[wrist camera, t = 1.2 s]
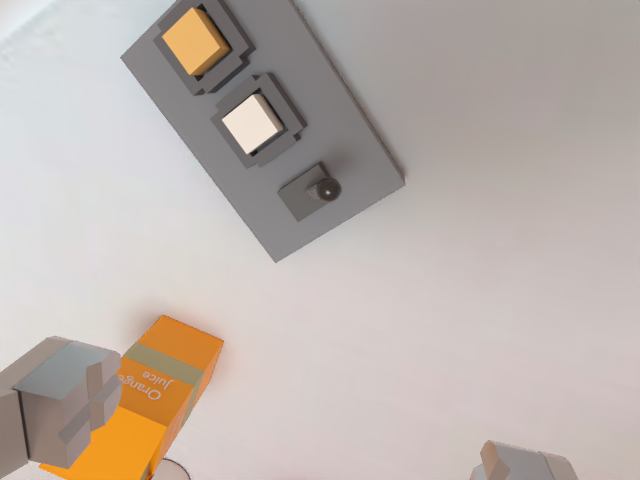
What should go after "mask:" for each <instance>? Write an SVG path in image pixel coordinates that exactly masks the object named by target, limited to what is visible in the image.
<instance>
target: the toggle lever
mask: <svg viewBox="0 0 640 480" xmlns="http://www.w3.org/2000/svg"><path fill="white" fill-rule="evenodd" d="M305 193H306V194H307V196H308V197H309V199H310V200H317V199H321V200H322V201H324V202H334V201H335V200H337V199H338V198H339V196H340V194H341V186H340V183H339V182H338V181H337V180H336V179H334V178H331V177H327V178H324V179H322V180H321V181H320V182H319V183H318V184H315V185H312V186H311V187H310V188H308V189H307V190H305Z"/></svg>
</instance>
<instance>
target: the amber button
mask: <svg viewBox="0 0 640 480" xmlns="http://www.w3.org/2000/svg"><path fill="white" fill-rule="evenodd" d="M162 38H163V39H164V40H165V42H166V43H167V45H168V46H169V47H170V49H171V50H172V51H173V53H174V54H175V56H176V57H177V58H178V60H179V61H180V63H181V64H182V65H183V67H184V68H185V69H186V71H187V72H188V74H189V75H203V74H204V73H205V72H206V71H207V70H208V69H210V68H211V67H212V66H213V65H214V64H215V63H216V62H217V61H219V60H220V59H221V58H222V57H223V56H224V55H225V54H227V53H228V52H229V51H230V50H231V49H230V47H229V46H228V44H227V43H226V41H225V40H224V39H223V37H222V36H221V34H220V33H219V31H218V30H217V28H216V27H215V25H214V24H213V23H212V21H211V20H210V18H209V17H208V15H207V14H206V12H205V11H202V10H199V9H196V8H193V7H192V8H191V9H190V10H189V11H188V12H187V13H186V14H185V15H184V16H183V17H182V18H180V19H179V20H178V21H177V22H176V23H175V24H174V25H173V26H172V27H171V28H170V29H169V30H168V31H167V32H166V33H165V34H164V35H163V36H162Z"/></svg>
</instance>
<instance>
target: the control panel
mask: <svg viewBox="0 0 640 480" xmlns="http://www.w3.org/2000/svg"><path fill="white" fill-rule="evenodd" d="M192 7H193V8H196V9H199V10H202V11H205V12H206V14H207V15H208V17H209V18H210V20H211V21H212V23H213V24H214V25H215V27H216V28H217V30H218V31H219V33H220V34H221V36H222V37H223V39H224V40H225V41H226V43H227V44H228V46H229V47H230V49H231V50H230V51H229V52H228V53H227V54H225V55H224V56H223V57H222V58H221V59H220V60H219V61H217V62H216V63H215V64H214V65H213V66H212V67H211V68H210V69H208V70H207V71H206V72H205V73H204V74H203V75H189V74H188V72H187V71H186V69H185V68H184V67H183V65H182V64H181V63H180V61H179V60H178V58H177V57H176V56H175V54H174V53H173V51H172V50H171V49H170V47H169V46H168V45H167V43H166V42H165V40H164V39H163V38H162V36H163V35H164V34H165V33H166V32H167V31H168V30H169V29H170V28H171V27H172V26H173V25H174V24H175V23H176V22H177V21H178V20H179V19H180V18H182V17H183V16H184V15H185V14H186V13H187V12H188V11H189V10H190V9H191V8H192ZM120 58H121V59H122V61H123V62H124V63H125V65H126V66H127V67H128V69H129V70H130V71H131V73H132V74H133V75H134V77H135V78H136V79H137V81H138V82H139V83H140V85H141V86H142V87H143V88H144V90H145V91H146V92H147V94H148V95H149V96H150V98H151V99H152V100H153V102H154V103H155V104H156V106H157V107H158V108H159V110H160V111H161V112H162V114H163V115H164V116H165V118H166V119H167V120H168V122H169V123H170V124H171V126H172V127H173V128H174V130H175V131H176V132H177V133H178V135H179V136H180V137H181V139H182V140H183V141H184V143H185V144H186V145H187V147H188V148H189V149H190V151H191V152H192V153H193V155H194V156H195V157H196V159H197V160H198V161H199V163H200V164H201V165H202V167H203V168H204V169H205V171H206V172H207V173H208V175H209V176H210V177H211V178H212V180H213V181H214V182H215V184H216V185H217V186H218V188H219V189H220V190H221V192H222V193H223V194H224V196H225V197H226V198H227V200H228V201H229V202H230V204H231V205H232V206H233V208H234V209H235V210H236V212H237V213H238V214H239V216H240V217H241V218H242V220H243V221H244V222H245V223H246V225H247V226H248V227H249V229H250V230H251V231H252V233H253V234H254V235H255V237H256V238H257V239H258V241H259V242H260V243H261V245H262V246H263V247H264V249H265V250H266V251H267V253H268V254H269V255H270V257H271V258H272V259H273V261H274V262H275V263H277V262H278V261H280V260H282V259H283V258H285V257H287V256H288V255H290V254H292V253H293V252H295V251H297V250H298V249H300V248H302V247H303V246H305V245H307V244H308V243H310V242H312V241H313V240H315V239H317V238H318V237H320V236H321V235H323V234H325V233H326V232H328V231H330V230H331V229H333V228H335V227H336V226H338V225H340V224H341V223H343V222H345V221H346V220H348V219H350V218H351V217H353V216H355V215H356V214H358V213H360V212H361V211H363V210H365V209H366V208H368V207H370V206H371V205H373V204H375V203H376V202H378V201H380V200H381V199H383V198H385V197H386V196H388V195H390V194H391V193H393V192H394V191H396V190H398V189H399V188H401V187H403V186H404V185H405V179H404V176H403V175H402V173H401V172H400V170H399V169H398V167H397V165H396V164H395V162H394V161H393V159H392V157H391V156H390V154H389V153H388V151H387V150H386V148H385V146H384V145H383V143H382V142H381V140H380V138H379V137H378V135H377V134H376V132H375V131H374V129H373V127H372V126H371V124H370V123H369V121H368V119H367V118H366V116H365V115H364V113H363V111H362V110H361V108H360V107H359V105H358V104H357V102H356V100H355V99H354V97H353V96H352V94H351V92H350V91H349V89H348V88H347V86H346V85H345V83H344V81H343V80H342V78H341V77H340V75H339V73H338V72H337V70H336V69H335V67H334V66H333V64H332V62H331V61H330V59H329V58H328V56H327V54H326V53H325V51H324V50H323V48H322V46H321V45H320V43H319V42H318V40H317V39H316V37H315V35H314V34H313V32H312V31H311V29H310V27H309V26H308V24H307V23H306V21H305V20H304V18H303V16H302V15H301V13H300V12H299V10H298V8H297V7H296V5H295V4H294V2H293V1H292V0H177V1H176V2H175V3H174V4H173V5H172V6H171V7H170V8H169V9H168V10H167V11H166V12H165V13H164V14H163V15H162V16H161V17H160V18H159V19H158V20H157V21H156V22H155V23H154V24H153V25H152V26H151V27H150V28H149V29H148V30H147V31H146V32H145V33H144V34H143V35H142V36H141V37H140V38H139V39H138V40H137V41H136V42H135V43H134V44H133V45H132V46H131V47H130V48H129V49H128V50H127V51H126V52H125V53H124V54H123V55H122V56H121V57H120ZM254 94H262V95H263V97H264V98H265V100H266V101H267V103H268V104H269V106H270V107H271V109H272V110H273V111H274V113H275V114H276V116H277V117H278V119H279V120H280V122H281V123H282V125H283V126H284V127H285V128H284V129H283V130H281V131H280V132H279V133H277V134H276V135H275V136H273V137H272V138H271V139H269V140H268V141H267V142H265V143H264V144H263V145H261V146H260V147H259V148H257V149H256V150H254V151H252V152H250V153H249V154H246V153H245V151H244V150H243V148H242V147H241V146H240V144H239V143H238V142H237V140H236V139H235V137H234V136H233V135H232V133H231V132H230V130H229V129H228V128H227V126H226V125H225V124H224V122H223V121H222V119H223V118H224V117H226V116H227V115H228V114H229V113H231V112H232V111H233V110H234V109H235V108H237V107H238V106H239V105H240V104H242V103H243V102H244V101H245V100H247V99H248V98H249V97H250V96H252V95H254ZM327 177H331V178H334V179H336V180H337V181H338V182H339V183H340V186H341V194H340V196H339V198H338V199H337V200H335V201H334V202H324V201H322V200H321V199H317V200H310V199H309V197H308V196H307V194H306V193H305V190H307V189H308V188H310V187H311V186H312V185H315V184H318V183H319V182H320V181H321V180H322V179H324V178H327Z"/></svg>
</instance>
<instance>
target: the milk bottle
mask: <svg viewBox="0 0 640 480" xmlns="http://www.w3.org/2000/svg"><path fill="white" fill-rule="evenodd" d="M148 480H189V477H188V475H187V473H186V472H185V471H184V470H183V469H182V468H181V467H180V466H179V465H177V464H176V463H173V462H171V461H168V460H164V459H162V461H161V462H160V464H159V465H158V467H157V469H156V470H155V472H154V474H153V475H152V476H151V477H150V478H149V479H148Z"/></svg>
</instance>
